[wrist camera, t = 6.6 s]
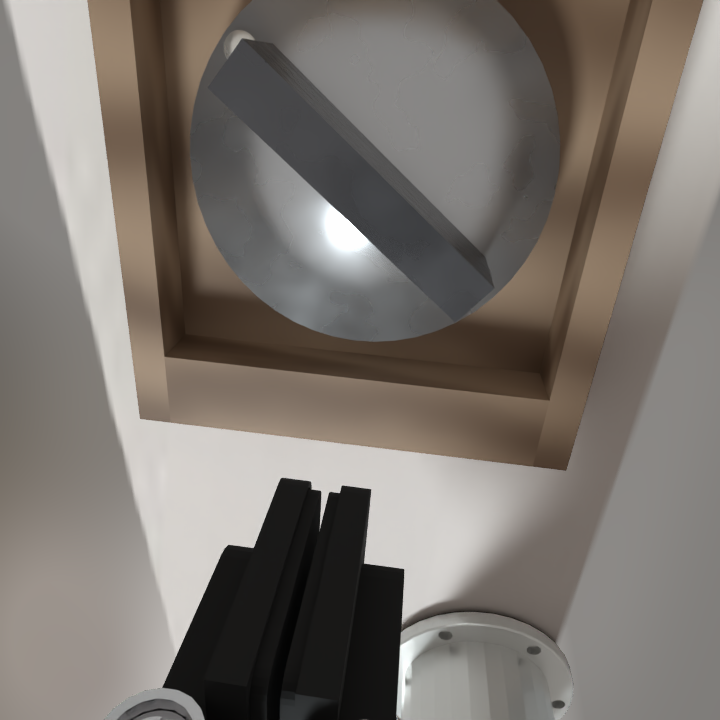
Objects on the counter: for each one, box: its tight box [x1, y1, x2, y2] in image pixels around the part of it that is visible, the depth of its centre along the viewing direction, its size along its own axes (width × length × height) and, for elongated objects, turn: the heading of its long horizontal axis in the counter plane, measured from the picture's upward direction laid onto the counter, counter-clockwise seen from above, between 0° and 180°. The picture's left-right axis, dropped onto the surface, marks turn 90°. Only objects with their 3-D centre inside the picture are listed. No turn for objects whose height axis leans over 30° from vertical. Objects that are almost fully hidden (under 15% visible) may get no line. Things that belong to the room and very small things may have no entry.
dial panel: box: [88, 0, 703, 470], centre depth 23 cm, size 24×20×4 cm
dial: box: [190, 0, 560, 342], centre depth 21 cm, size 14×14×5 cm
